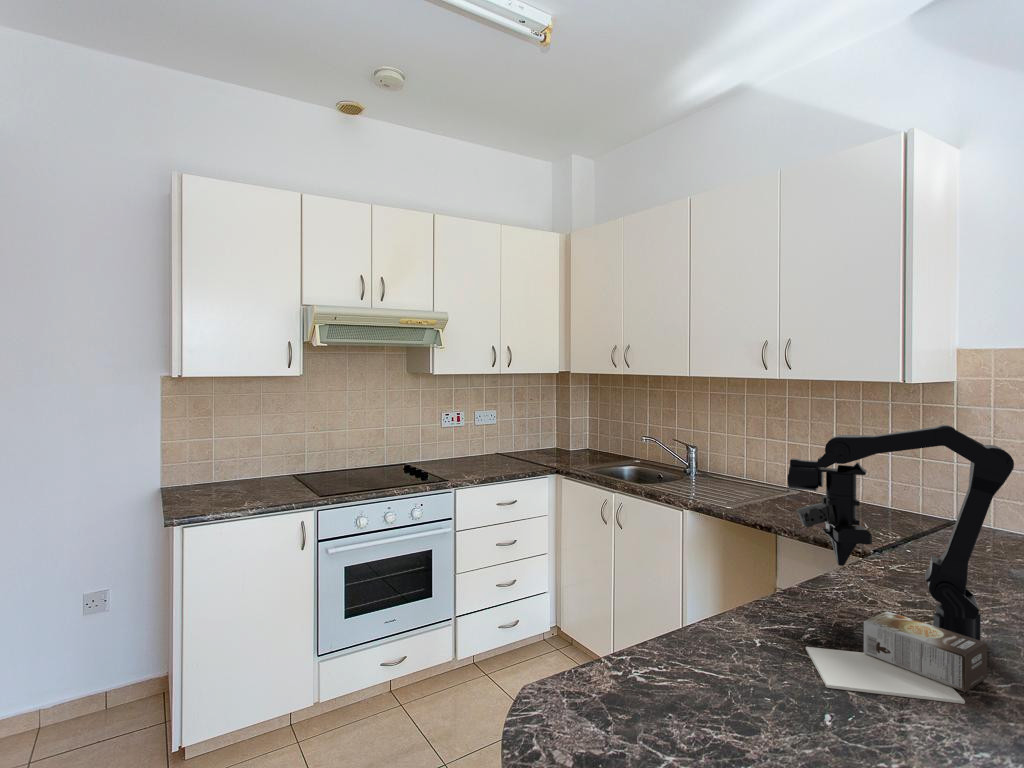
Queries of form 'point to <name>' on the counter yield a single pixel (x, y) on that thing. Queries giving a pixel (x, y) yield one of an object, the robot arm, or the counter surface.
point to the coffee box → (926, 650)
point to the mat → (876, 676)
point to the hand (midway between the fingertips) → (840, 565)
